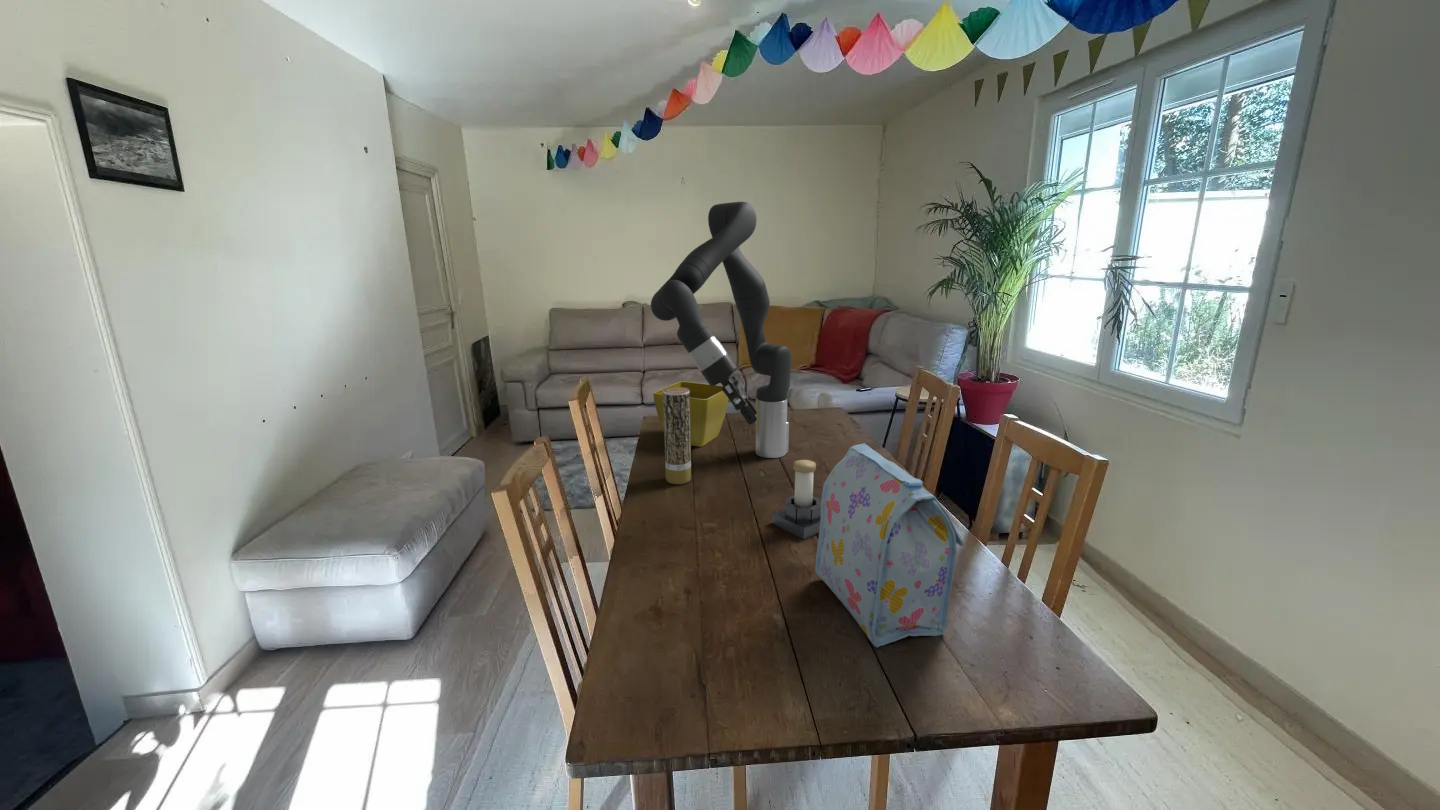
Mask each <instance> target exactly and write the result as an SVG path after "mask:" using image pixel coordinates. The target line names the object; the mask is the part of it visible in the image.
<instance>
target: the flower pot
mask: <svg viewBox="0 0 1440 810" xmlns="http://www.w3.org/2000/svg"><path fill="white" fill-rule="evenodd" d="M672 387H683V388H688V389H689V392H690V442H691V447H692V446H693V447H703V446H705V445H706V444H708V443H710V442H711V441H713V440H714V439H716V438H717V437H718V436H719V434H720V431H721V428H722V427H723V422H724V420H725V417H726V413H727V409H728V405H729V402H730V400H729V399H728V397H727V396H726V395H725V394H724V392H723V391H722V388H723V386H722V385H720V384H717V385H715V386H710V384H709V383H702V382H693V381H685V380H684V381H683V380H682V381H677V382H676V383H672V384H670V385H667V386H666V387H663V388H661V389H658V390H656V391H653V394H652V395H653V400H654V405H655V411H656V413H657V416H658V420H659V421H658V422H659V423H660V426H661V429H662V431H663V433H664V404H663V390H664V389H666V388H672Z"/></svg>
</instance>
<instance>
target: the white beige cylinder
mask: <svg viewBox="0 0 1440 810" xmlns="http://www.w3.org/2000/svg"><path fill="white" fill-rule="evenodd" d="M816 466H817V465H816V462H814V461H812V460H809V459H798V460H795V461H793V470H794V471H795V472H794V495H795V497H794V505H795V506H797V507H812V500H813V496H814V494H813V493H814V475H815V474H814V473H815V471H816V470H817V469H816V468H817V467H816Z"/></svg>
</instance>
